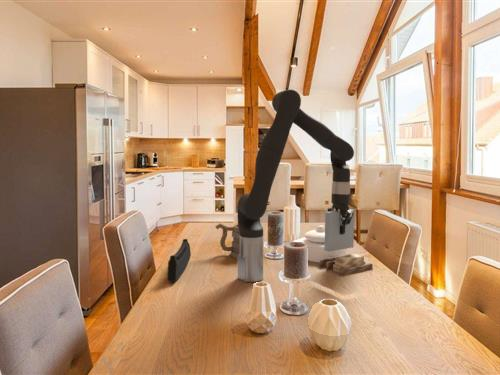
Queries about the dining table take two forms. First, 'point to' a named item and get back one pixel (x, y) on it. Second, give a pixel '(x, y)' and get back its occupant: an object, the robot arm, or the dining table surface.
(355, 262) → the offcut upper
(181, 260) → the black curved panel
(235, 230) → the tankard
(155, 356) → the dining table surface
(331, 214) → the grey board
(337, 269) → the offcut lower
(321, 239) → the butter dish
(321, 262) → the walnut rack
